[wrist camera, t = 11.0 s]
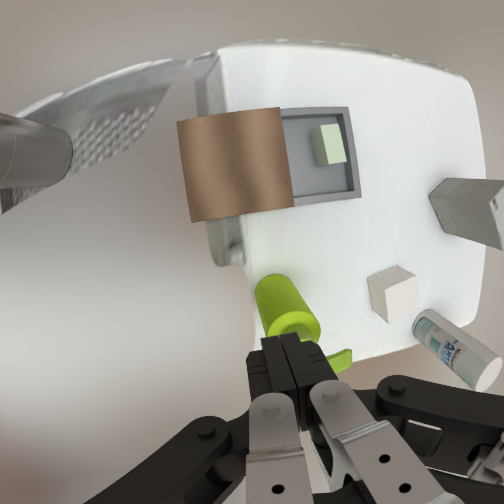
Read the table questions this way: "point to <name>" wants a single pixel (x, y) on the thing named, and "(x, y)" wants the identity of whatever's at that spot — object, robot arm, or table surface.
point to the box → (303, 161)
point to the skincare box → (471, 209)
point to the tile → (327, 145)
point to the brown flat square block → (235, 163)
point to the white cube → (393, 293)
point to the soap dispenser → (292, 316)
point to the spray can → (457, 350)
